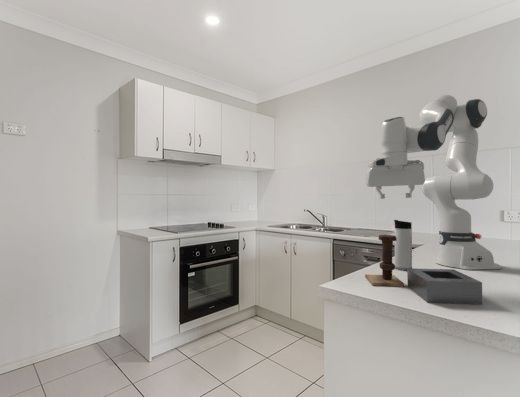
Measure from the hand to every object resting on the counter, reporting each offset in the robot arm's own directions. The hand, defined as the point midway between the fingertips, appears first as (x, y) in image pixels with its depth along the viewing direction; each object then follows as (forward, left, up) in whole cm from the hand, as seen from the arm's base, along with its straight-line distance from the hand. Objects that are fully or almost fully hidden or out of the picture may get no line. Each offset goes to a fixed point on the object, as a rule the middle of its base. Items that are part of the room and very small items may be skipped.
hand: (395, 198), depth 106 cm
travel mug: (-6, -10, -29) cm, 31 cm away
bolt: (+6, +9, -28) cm, 30 cm away
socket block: (-6, +21, -29) cm, 36 cm away
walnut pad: (+7, +9, -29) cm, 31 cm away
